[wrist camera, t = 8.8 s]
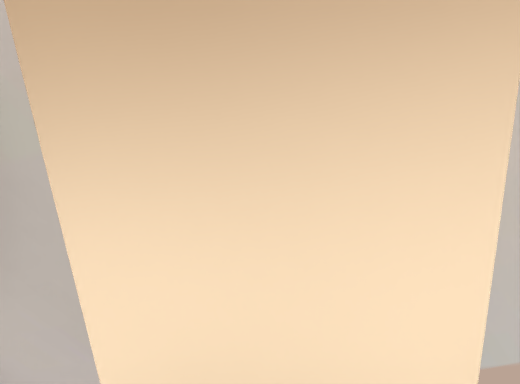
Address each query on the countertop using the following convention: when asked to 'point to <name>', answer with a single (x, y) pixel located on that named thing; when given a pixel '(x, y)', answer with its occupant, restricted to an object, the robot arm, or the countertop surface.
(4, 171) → the countertop surface
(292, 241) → the tan rectangular block
